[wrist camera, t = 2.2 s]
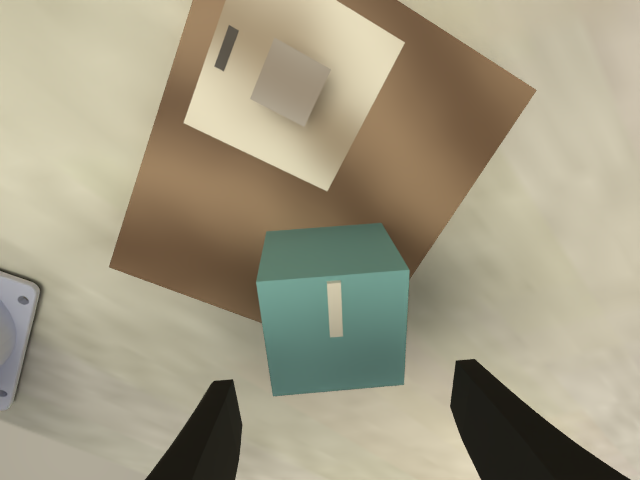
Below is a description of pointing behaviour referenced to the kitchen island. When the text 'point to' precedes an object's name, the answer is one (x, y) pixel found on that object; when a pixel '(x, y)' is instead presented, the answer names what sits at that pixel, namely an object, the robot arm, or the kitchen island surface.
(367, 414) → the kitchen island surface
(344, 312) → the knob
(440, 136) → the board
